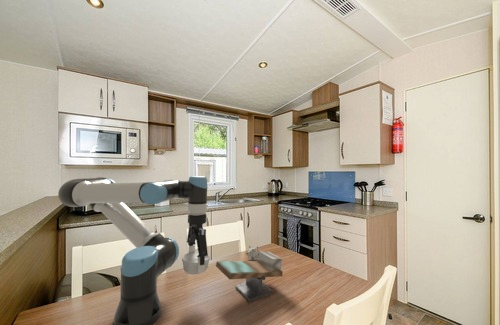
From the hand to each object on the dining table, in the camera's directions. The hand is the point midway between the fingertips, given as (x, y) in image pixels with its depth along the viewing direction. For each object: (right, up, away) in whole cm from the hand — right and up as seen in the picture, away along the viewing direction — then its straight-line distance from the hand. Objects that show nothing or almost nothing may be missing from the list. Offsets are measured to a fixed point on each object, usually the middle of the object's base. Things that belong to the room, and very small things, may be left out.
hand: (195, 266), depth 88 cm
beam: (+22, -6, +6) cm, 23 cm away
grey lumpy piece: (+24, -15, +38) cm, 47 cm away
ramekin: (0, -1, 0) cm, 1 cm away
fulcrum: (+24, -14, +7) cm, 29 cm away
